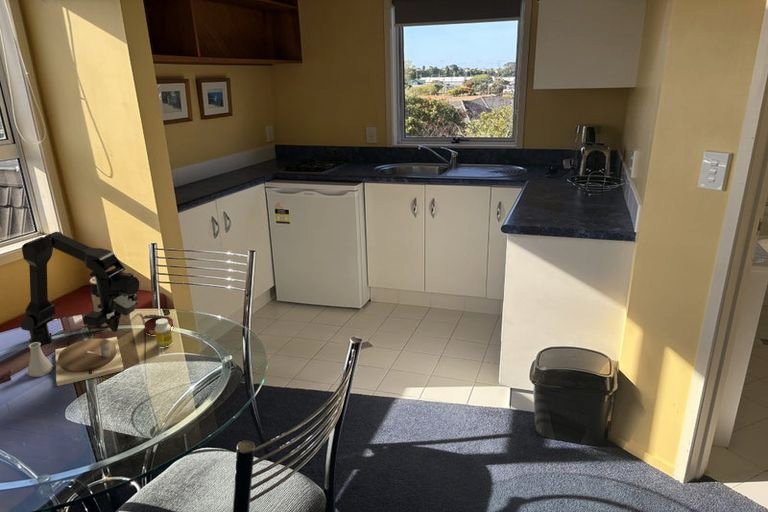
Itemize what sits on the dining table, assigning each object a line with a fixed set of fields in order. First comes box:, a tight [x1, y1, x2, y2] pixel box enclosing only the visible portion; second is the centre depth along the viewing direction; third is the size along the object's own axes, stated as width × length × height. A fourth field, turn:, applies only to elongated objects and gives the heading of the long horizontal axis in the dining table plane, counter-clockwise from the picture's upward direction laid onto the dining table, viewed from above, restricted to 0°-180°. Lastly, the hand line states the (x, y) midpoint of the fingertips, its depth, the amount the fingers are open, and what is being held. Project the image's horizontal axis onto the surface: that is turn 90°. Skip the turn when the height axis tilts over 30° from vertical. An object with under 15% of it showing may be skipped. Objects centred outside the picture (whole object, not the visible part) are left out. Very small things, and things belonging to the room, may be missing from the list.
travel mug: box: [89, 277, 121, 328], centre depth 205 cm, size 8×8×18 cm
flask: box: [26, 342, 55, 378], centre depth 177 cm, size 7×7×10 cm
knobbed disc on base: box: [58, 338, 117, 372], centre depth 182 cm, size 17×17×7 cm
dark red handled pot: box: [142, 314, 174, 335], centre depth 204 cm, size 11×10×10 cm
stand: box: [55, 336, 125, 387], centre depth 184 cm, size 21×19×2 cm
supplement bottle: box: [155, 318, 174, 348], centre depth 194 cm, size 5×5×10 cm
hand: (115, 331), depth 184 cm, fingers closed
